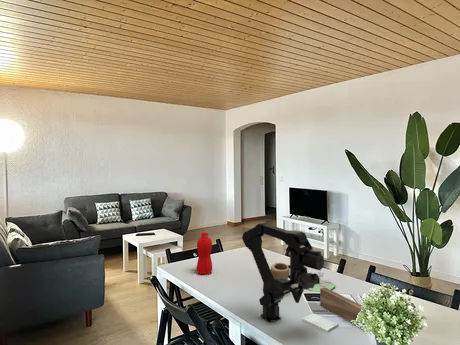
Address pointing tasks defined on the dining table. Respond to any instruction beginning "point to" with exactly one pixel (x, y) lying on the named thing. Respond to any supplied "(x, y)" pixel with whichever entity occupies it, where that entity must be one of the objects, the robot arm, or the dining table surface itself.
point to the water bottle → (204, 254)
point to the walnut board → (339, 304)
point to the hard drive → (320, 322)
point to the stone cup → (280, 271)
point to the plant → (322, 284)
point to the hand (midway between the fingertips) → (297, 302)
